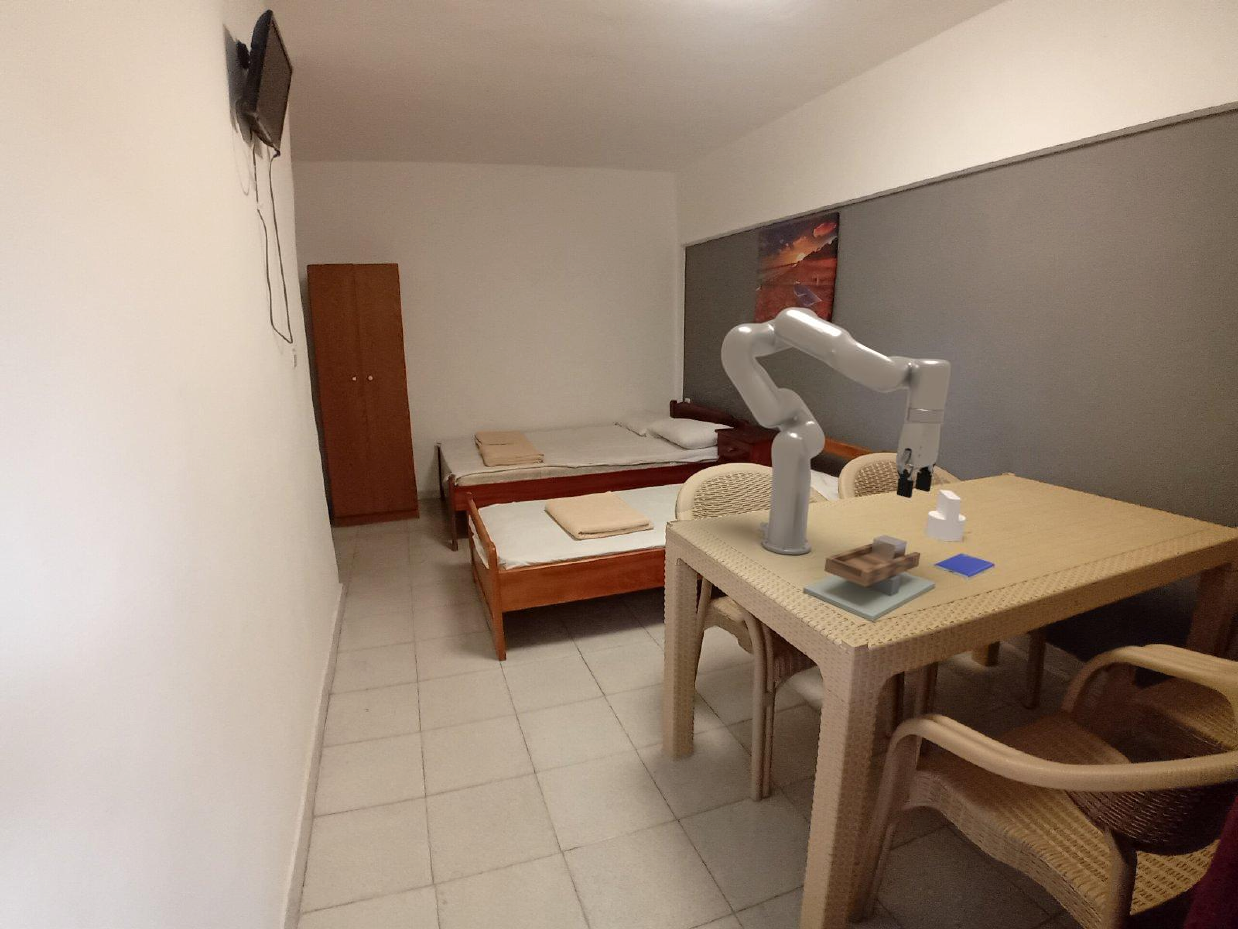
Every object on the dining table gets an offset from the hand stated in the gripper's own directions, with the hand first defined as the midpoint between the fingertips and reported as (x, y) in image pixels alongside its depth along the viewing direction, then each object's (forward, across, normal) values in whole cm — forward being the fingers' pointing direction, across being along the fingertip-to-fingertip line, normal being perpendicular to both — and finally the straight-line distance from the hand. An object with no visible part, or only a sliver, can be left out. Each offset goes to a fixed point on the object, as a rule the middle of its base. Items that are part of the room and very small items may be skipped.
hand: (913, 492), depth 133 cm
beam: (+15, +14, 0) cm, 20 cm away
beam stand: (+20, +14, 0) cm, 24 cm away
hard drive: (+21, -16, +7) cm, 27 cm away
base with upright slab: (+20, -34, -6) cm, 40 cm away
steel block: (+14, +8, 0) cm, 16 cm away
